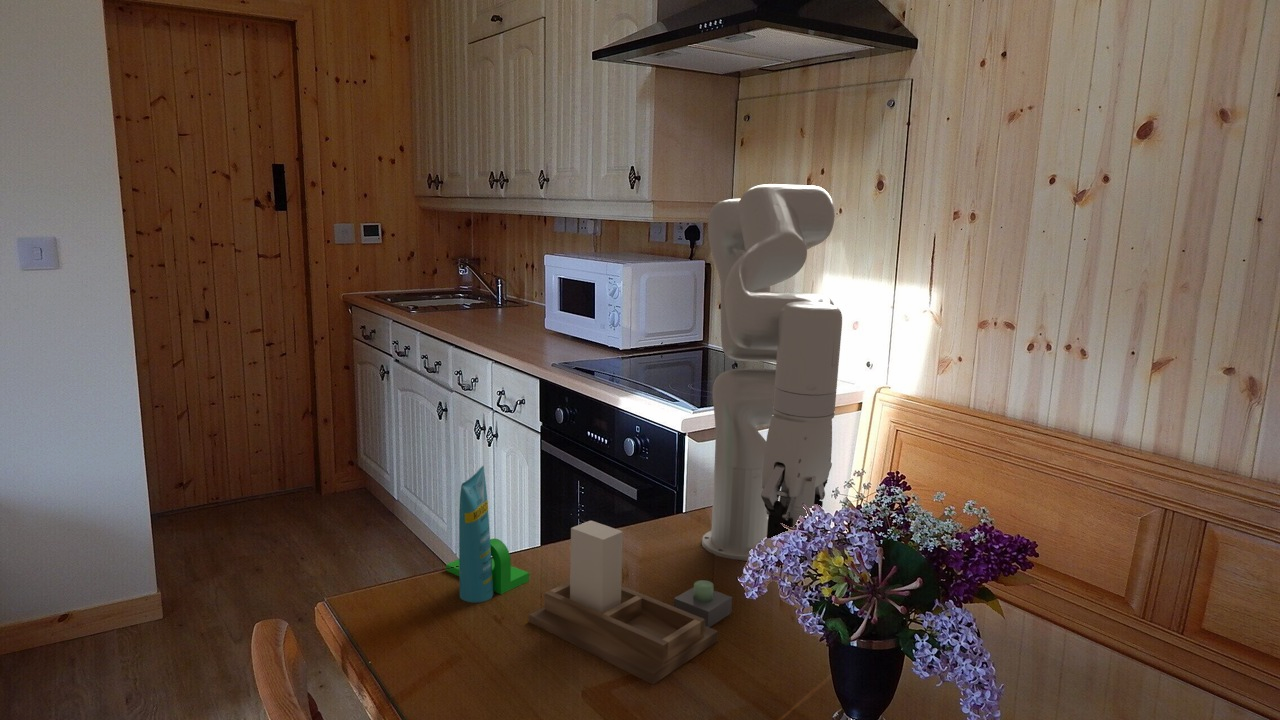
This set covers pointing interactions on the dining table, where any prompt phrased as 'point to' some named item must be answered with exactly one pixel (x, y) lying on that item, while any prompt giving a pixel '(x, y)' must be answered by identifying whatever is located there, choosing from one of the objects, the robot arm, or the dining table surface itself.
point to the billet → (596, 566)
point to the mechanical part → (499, 569)
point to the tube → (474, 541)
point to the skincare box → (801, 499)
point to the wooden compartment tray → (628, 631)
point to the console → (705, 606)
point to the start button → (703, 591)
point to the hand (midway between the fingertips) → (794, 535)
